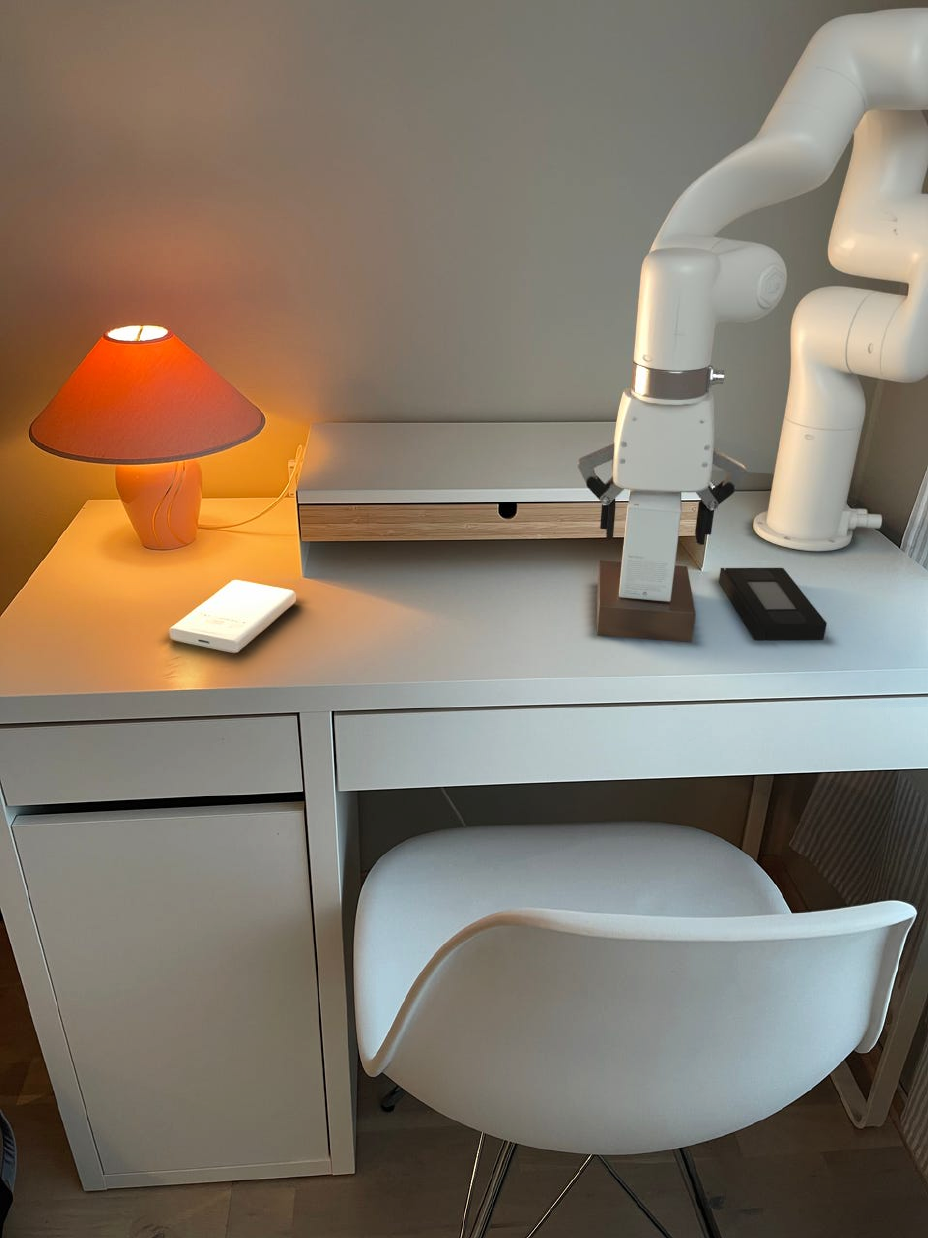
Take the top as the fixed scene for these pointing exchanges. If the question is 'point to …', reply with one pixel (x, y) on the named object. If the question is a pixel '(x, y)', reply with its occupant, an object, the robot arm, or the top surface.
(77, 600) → the top surface
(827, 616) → the top surface
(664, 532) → the small box
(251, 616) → the hard drive
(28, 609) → the top surface
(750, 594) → the vhs tape
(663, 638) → the walnut block
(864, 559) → the top surface
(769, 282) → the robot arm
